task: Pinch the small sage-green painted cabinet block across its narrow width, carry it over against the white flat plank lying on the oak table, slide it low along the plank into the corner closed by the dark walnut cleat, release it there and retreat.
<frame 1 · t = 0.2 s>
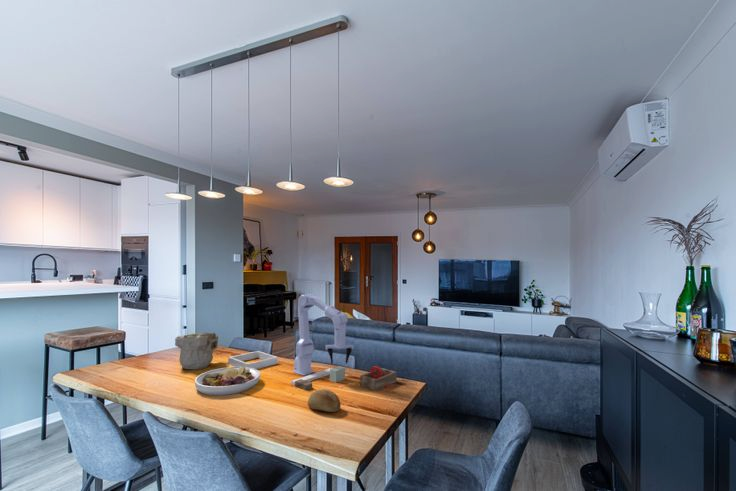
hand: (339, 363, 172), 10 cm above the table, fingers open, 7 cm apart
wooden box: (378, 383, 170), on the table
bowl: (228, 386, 164), on the table
white flat plank: (314, 377, 177), on the table
ceramic vessel: (198, 365, 196), on the table
cabinet block: (337, 379, 175), on the table
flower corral: (253, 363, 201), on the table
cleat: (303, 387, 163), on the table
bread roll: (323, 410, 139), on the table
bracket: (378, 384, 170), on the table, touching wooden box
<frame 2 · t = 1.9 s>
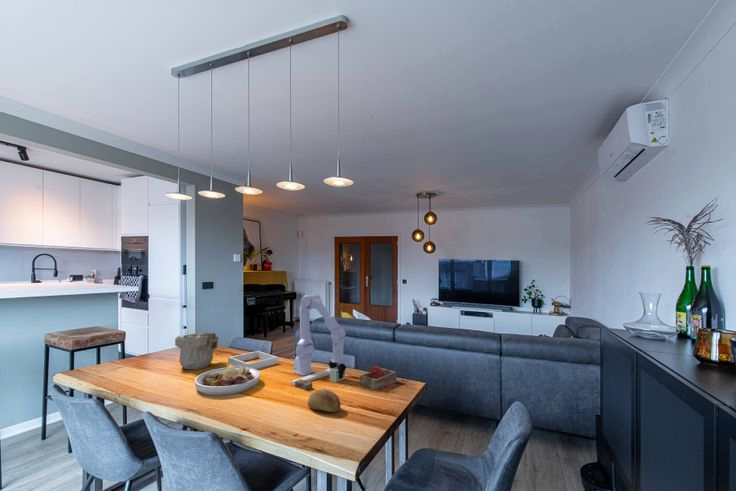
hand: (337, 377, 175), 1 cm above the table, fingers closed on cabinet block, 4 cm apart
cabinet block: (337, 379, 175), on the table, touching gripper
everything else where it was.
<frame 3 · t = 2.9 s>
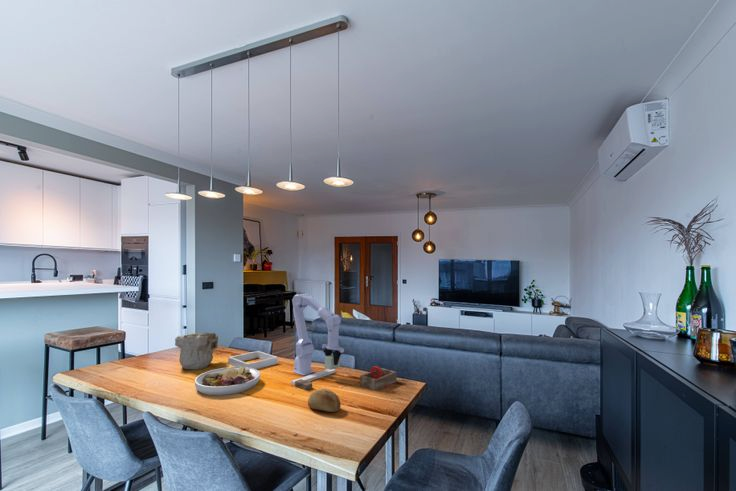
hand: (332, 363, 176), 8 cm above the table, fingers closed on cabinet block, 4 cm apart
cabinet block: (332, 367, 175), point 6 cm above the table, touching gripper
everything else where it was.
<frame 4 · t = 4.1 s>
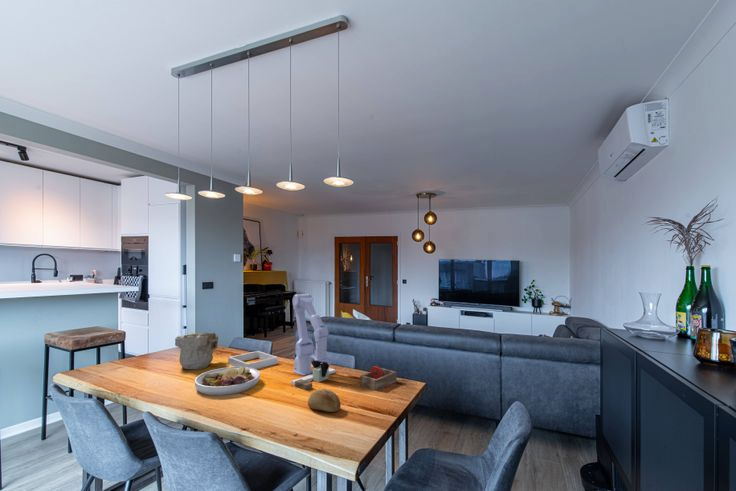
hand: (320, 375, 175), 2 cm above the table, fingers closed on cabinet block, 4 cm apart
cabinet block: (320, 379, 175), on the table, touching gripper
everything else where it was.
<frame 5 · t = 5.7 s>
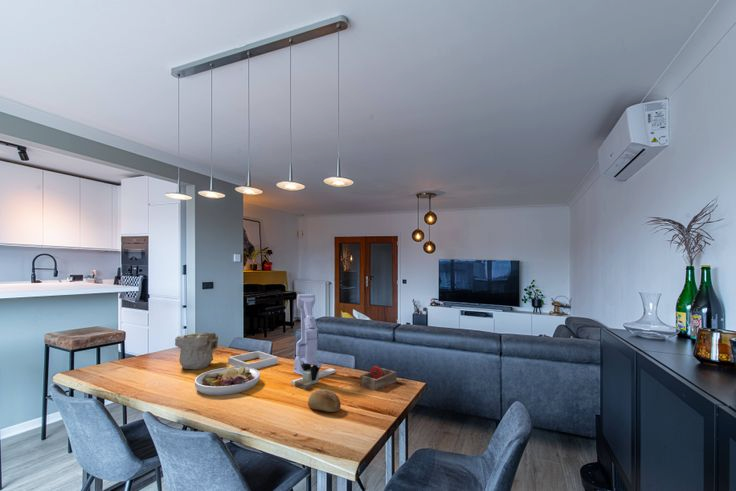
hand: (310, 378, 169), 2 cm above the table, fingers closed on cabinet block, 4 cm apart
cabinet block: (310, 382, 169), on the table, touching gripper
everything else where it was.
when the fingers open (2 cm above the table, at t = 6.8 s): cabinet block stays where it is, on the table.
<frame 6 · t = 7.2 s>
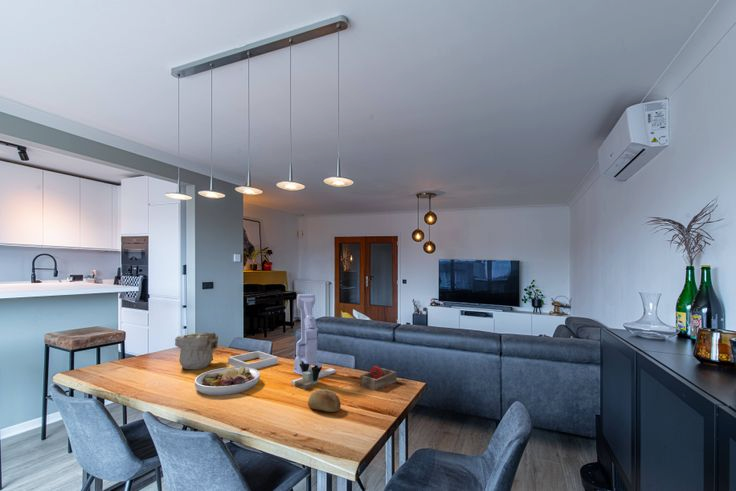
hand: (310, 378, 169), 2 cm above the table, fingers open, 7 cm apart
cabinet block: (310, 383, 169), on the table
everything else where it was.
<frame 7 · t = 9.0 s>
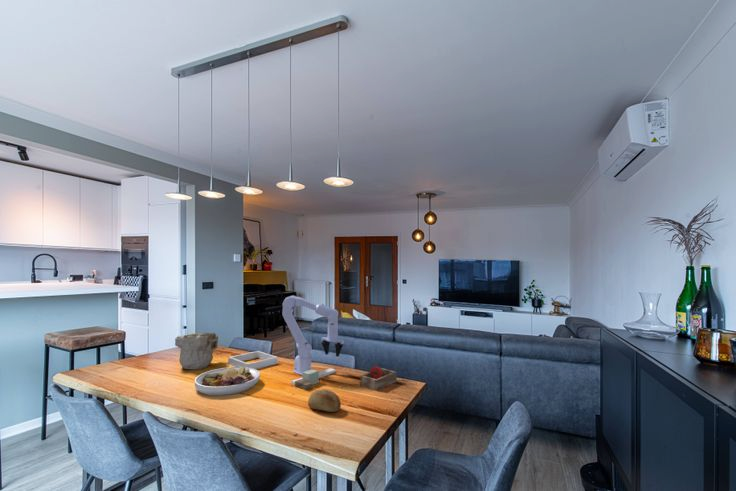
hand: (332, 355, 186), 10 cm above the table, fingers open, 7 cm apart
nothing on the table moved.
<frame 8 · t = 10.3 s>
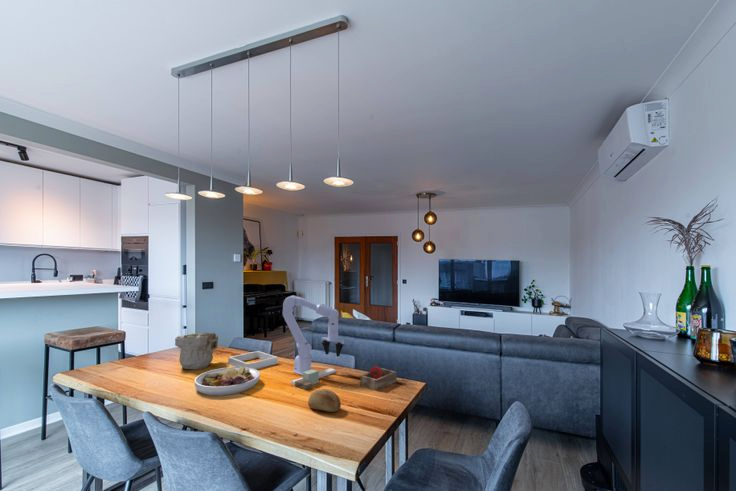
hand: (332, 355, 187), 10 cm above the table, fingers open, 7 cm apart
nothing on the table moved.
at the end: cabinet block 0.2 cm from the target spot, on the table; the gripper is holding nothing; cabinet block tilted 0° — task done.
